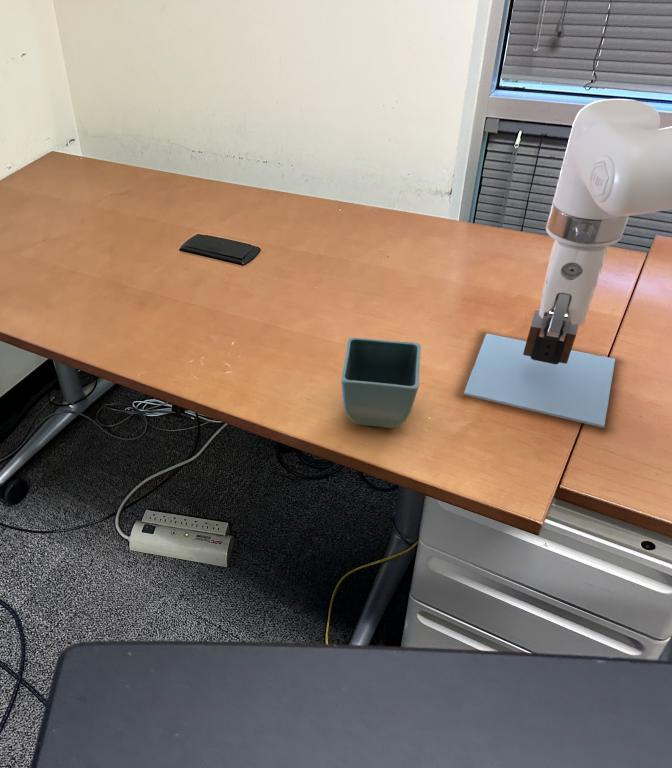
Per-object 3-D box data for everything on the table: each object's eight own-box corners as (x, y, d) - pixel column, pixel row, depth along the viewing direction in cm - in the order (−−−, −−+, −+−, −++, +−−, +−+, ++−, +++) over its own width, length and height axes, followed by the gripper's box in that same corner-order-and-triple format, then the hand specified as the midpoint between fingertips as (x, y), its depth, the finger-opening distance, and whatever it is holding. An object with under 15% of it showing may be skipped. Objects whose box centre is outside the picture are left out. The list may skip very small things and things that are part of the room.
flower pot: (410, 442, 85) (419, 387, 79) (337, 434, 87) (340, 380, 81) (413, 396, 91) (421, 342, 85) (344, 389, 93) (348, 336, 88)
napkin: (614, 360, 91) (615, 358, 91) (603, 428, 82) (604, 425, 82) (485, 335, 98) (486, 333, 98) (463, 394, 90) (463, 392, 90)
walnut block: (570, 345, 88) (580, 317, 85) (566, 364, 85) (576, 335, 82) (528, 337, 90) (535, 309, 87) (522, 355, 88) (530, 326, 85)
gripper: (619, 262, 69) (571, 397, 81) (632, 191, 79) (588, 320, 91) (536, 250, 72) (502, 382, 84) (559, 183, 83) (526, 309, 95)
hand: (547, 348), depth 87 cm, fingers closed on walnut block, 4 cm apart
